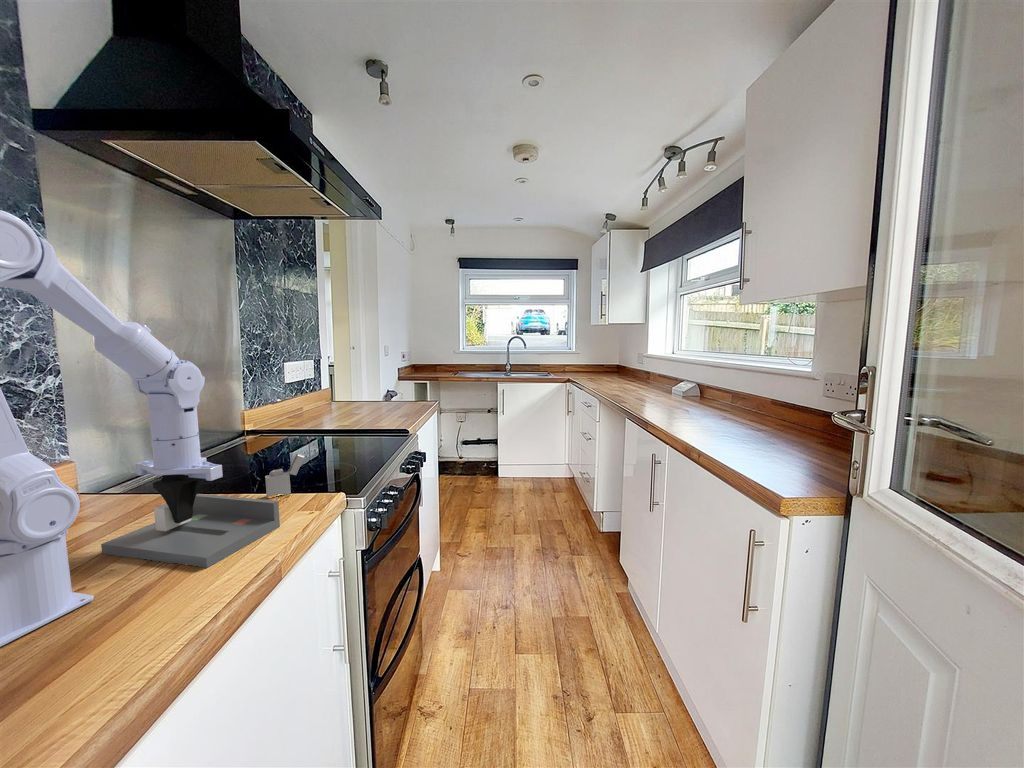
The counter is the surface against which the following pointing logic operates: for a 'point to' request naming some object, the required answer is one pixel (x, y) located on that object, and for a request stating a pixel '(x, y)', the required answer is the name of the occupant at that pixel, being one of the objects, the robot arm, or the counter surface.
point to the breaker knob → (165, 518)
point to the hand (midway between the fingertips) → (183, 520)
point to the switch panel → (202, 532)
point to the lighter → (282, 478)
